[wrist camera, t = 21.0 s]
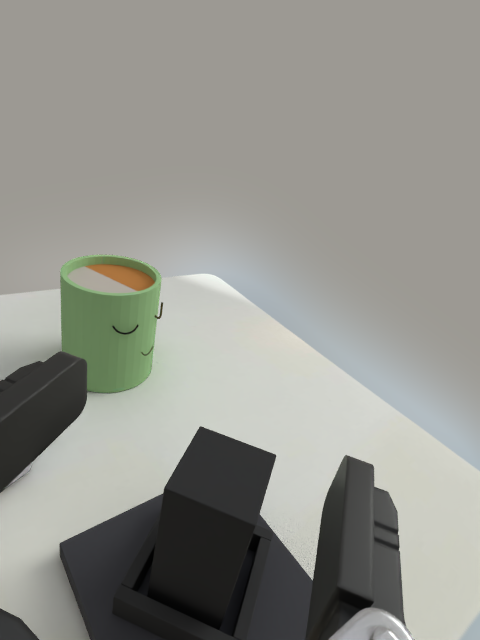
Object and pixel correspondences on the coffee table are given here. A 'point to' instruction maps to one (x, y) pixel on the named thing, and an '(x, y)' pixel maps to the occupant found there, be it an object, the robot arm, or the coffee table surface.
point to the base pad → (162, 621)
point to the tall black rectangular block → (208, 524)
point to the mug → (110, 318)
